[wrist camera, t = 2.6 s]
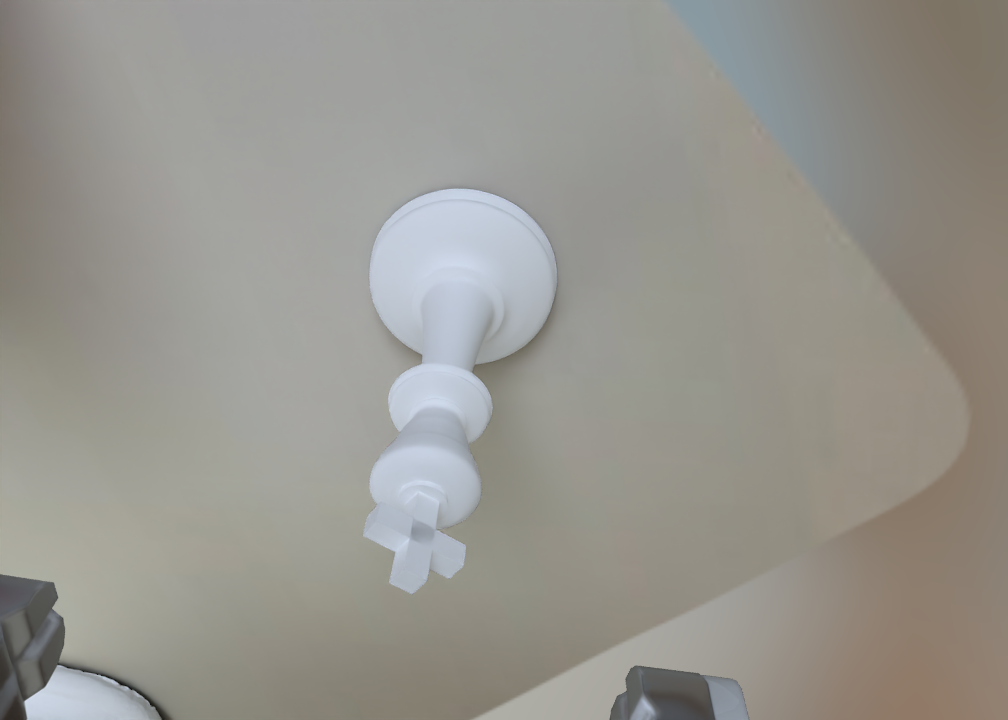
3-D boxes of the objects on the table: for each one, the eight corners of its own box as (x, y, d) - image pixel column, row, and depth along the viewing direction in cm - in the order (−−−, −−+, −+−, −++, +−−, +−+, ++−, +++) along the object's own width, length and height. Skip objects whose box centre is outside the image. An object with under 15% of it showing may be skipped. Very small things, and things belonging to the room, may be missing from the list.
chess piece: (436, 148, 18) (348, 408, 10) (596, 260, 20) (632, 566, 11) (337, 291, 21) (199, 596, 12) (486, 382, 22) (451, 707, 14)
